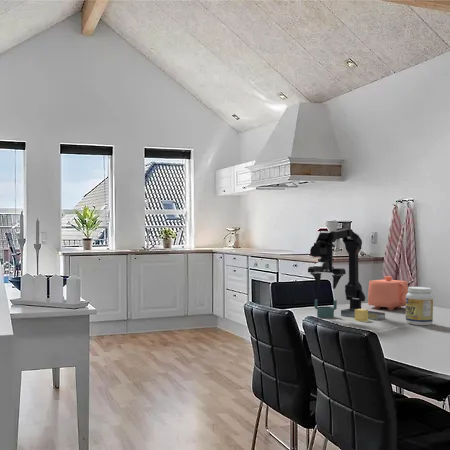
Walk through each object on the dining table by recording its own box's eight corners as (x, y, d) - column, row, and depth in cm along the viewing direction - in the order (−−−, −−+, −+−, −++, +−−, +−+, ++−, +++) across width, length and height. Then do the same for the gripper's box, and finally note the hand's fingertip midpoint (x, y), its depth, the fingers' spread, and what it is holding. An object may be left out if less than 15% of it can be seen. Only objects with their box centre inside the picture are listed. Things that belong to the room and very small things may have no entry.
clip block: (359, 319, 290) (359, 308, 290) (367, 320, 287) (367, 309, 287) (354, 320, 287) (354, 309, 287) (362, 321, 284) (363, 310, 284)
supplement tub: (400, 322, 286) (400, 286, 286) (420, 321, 291) (421, 286, 291) (417, 326, 275) (417, 289, 275) (438, 325, 280) (439, 288, 280)
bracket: (338, 318, 295) (338, 300, 295) (323, 319, 291) (323, 301, 291) (326, 316, 303) (326, 298, 303) (311, 317, 298) (312, 299, 298)
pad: (357, 319, 293) (357, 318, 293) (374, 321, 287) (374, 320, 287) (347, 321, 287) (347, 320, 287) (364, 323, 281) (364, 322, 281)
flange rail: (350, 314, 308) (350, 308, 308) (385, 319, 294) (385, 312, 294) (340, 316, 301) (341, 310, 301) (376, 321, 288) (376, 314, 288)
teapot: (386, 303, 355) (386, 273, 355) (421, 308, 338) (421, 276, 338) (361, 307, 338) (362, 275, 338) (397, 311, 321) (397, 278, 321)
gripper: (301, 256, 297) (301, 287, 297) (333, 257, 284) (333, 290, 284) (314, 255, 305) (314, 286, 305) (346, 257, 293) (346, 289, 293)
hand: (326, 288), depth 297 cm, fingers open, 9 cm apart
